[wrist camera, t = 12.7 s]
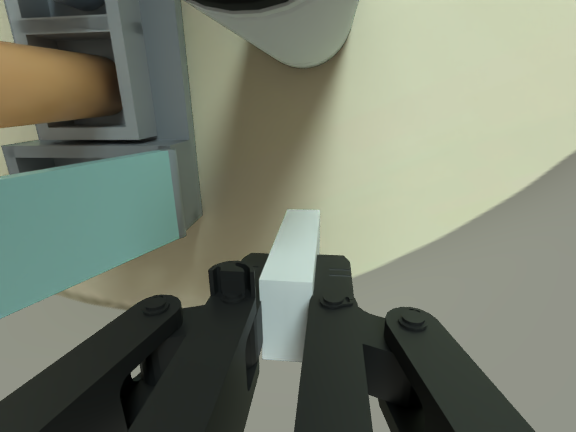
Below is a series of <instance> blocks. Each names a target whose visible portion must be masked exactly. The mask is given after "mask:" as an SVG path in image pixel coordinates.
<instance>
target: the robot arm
mask: <svg viewBox="0 0 576 432" xmlns="http://www.w3.org/2000/svg"><path fill="white" fill-rule="evenodd" d="M319 250H320V210H304V209H287V212H286V214H285V217H284V219H283V222H282V224H281V226H280V229H279V231H278V234H277V236H276V239H275V241H274V244H273V246H272V249H271V251H270V254H265V253H250V254H249V255H247V256H246V257H244V258H243V259H242V261H227V262H222V263H219V264H217V265H214V266H212V267H211V268H210V269H209V270H208V273H209V283H210V293H211V296H210V298H209V299H208V301H207V303H206V304H205V305H201V306H196V307H189V308H182V306H181V301H180V300H179V299H178V298H177V297H174V296H172V295H155V296H152V297H149V298H146V299H144V300H142V301H140V302H138V303H137V304H135V305H134V306H133V307H131V308H130V309H128V310H127V311H126V312H124V313H123V314H122V315H120V316H119V317H117V318H116V319H115V320H113V321H112V322H110V323H109V324H107V325H106V326H105V327H103V328H102V329H101V330H99V331H98V332H96V333H95V334H94V335H92V336H91V337H89V338H88V339H87V340H85V341H84V342H82V343H81V344H80V345H78V346H77V347H75V348H74V349H73V350H71V351H70V352H68V353H67V354H66V355H64V356H63V357H61V358H60V359H59V360H58V361H56V362H55V363H53V364H52V365H50V366H49V367H47V368H46V369H45V370H43V371H42V372H41V373H39V374H38V375H36V376H35V377H33V378H32V379H31V380H29V381H28V382H26V383H25V384H24V385H22V386H21V387H20V388H18V389H17V390H15V391H14V392H13V393H11V394H10V395H8V396H7V397H6V398H4V399H3V400H1V401H0V432H244V428H245V424H246V420H247V417H248V413H249V409H250V406H251V402H252V398H253V394H254V390H255V387H256V383H257V378H258V375H259V355H260V351H261V348H262V357H263V358H262V359H265V360H279V361H291V362H302V368H301V377H300V386H299V394H298V403H297V412H296V420H295V428H294V432H373V429H372V421H371V413H370V404H369V396H368V395H371V396H374V397H377V398H378V401H379V406H380V408H381V410H382V412H383V415H384V417H385V419H386V422H387V424H388V426H389V429H390V431H391V432H535V431H534V430H533V428H532V427H531V426H530V425H529V424H528V423H527V422H526V420H525V419H524V418H523V417H522V416H521V415H520V414H519V412H518V411H517V410H516V409H515V408H514V407H513V406H512V404H511V403H510V402H509V401H508V400H507V399H506V398H505V396H504V395H503V394H502V393H501V392H500V391H499V390H498V389H497V387H496V386H495V385H494V384H493V383H492V382H491V381H490V379H489V378H488V377H487V376H486V375H485V374H484V372H482V370H481V369H480V368H479V367H478V366H477V364H476V363H475V362H474V361H473V360H472V359H471V358H470V356H469V355H468V354H467V353H466V352H465V351H464V350H463V348H462V347H461V346H460V345H459V344H458V343H457V342H456V340H455V339H454V338H453V337H452V336H451V335H450V334H449V332H448V331H447V330H446V329H445V328H444V327H443V326H442V325H441V323H440V322H439V321H438V320H437V319H436V318H435V317H433V316H432V315H431V314H429V313H427V312H425V311H423V310H420V309H417V308H412V307H399V308H395V309H392V310H390V311H389V312H387V315H386V317H385V318H382V317H378V316H375V315H372V314H369V313H367V312H365V311H363V310H362V309H361V308H359V307H358V305H357V302H356V300H355V298H354V294H353V286H352V277H351V267H350V262H349V261H348V260H347V259H346V258H345V257H344V256H340V255H319ZM139 364H140V369H141V372H140V373H139V374H138V375H137V376H136V377H135V378H133V379H132V378H131V372H132V371H133V370H134V369H135V368H136V367H137V366H138V365H139Z"/></svg>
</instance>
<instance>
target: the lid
mask: <svg viewBox="0 0 576 432" xmlns="http://www.w3.org/2000/svg"><path fill="white" fill-rule="evenodd" d="M185 236H186V227H185V219H184V211H183V203H182V195H181V187H180V179H179V171H178V162H177V154H176V149H174V148H167V149H160V150H155V151H149V152H143V153H137V154H131V155H125V156H119V157H113V158H107V159H101V160H95V161H89V162H83V163H77V164H71V165H65V166H59V167H53V168H47V169H41V170H35V171H29V172H23V173H17V174H11V175H5V176H0V319H1V318H3V317H5V316H8V315H10V314H12V313H14V312H16V311H19V310H21V309H23V308H25V307H28V306H30V305H32V304H34V303H36V302H39V301H41V300H43V299H45V298H48V297H49V296H52V295H54V294H56V293H59V292H61V291H63V290H65V289H68V288H70V287H72V286H74V285H77V284H79V283H81V282H83V281H85V280H88V279H90V278H92V277H94V276H97V275H99V274H101V273H103V272H105V271H108V270H110V269H112V268H114V267H117V266H119V265H121V264H123V263H125V262H128V261H130V260H132V259H134V258H137V257H139V256H141V255H143V254H145V253H148V252H150V251H152V250H154V249H157V248H159V247H161V246H163V245H166V244H168V243H170V242H172V241H174V240H177V239H179V238H183V237H185Z"/></svg>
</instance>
